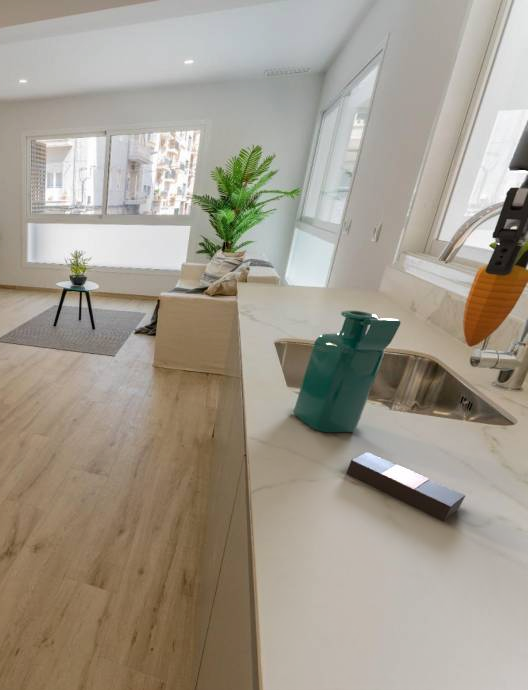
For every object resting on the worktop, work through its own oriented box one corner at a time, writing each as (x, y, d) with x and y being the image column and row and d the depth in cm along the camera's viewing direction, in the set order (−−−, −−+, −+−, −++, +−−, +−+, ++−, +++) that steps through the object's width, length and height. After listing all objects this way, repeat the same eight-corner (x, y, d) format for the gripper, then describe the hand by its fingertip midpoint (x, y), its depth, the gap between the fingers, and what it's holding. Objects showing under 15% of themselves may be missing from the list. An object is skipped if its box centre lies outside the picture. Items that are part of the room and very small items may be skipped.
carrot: (461, 350, 58) (511, 237, 53) (438, 339, 63) (482, 233, 57) (505, 353, 57) (561, 238, 52) (478, 342, 62) (527, 235, 56)
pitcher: (288, 411, 86) (320, 305, 77) (327, 411, 86) (363, 306, 78) (322, 437, 77) (363, 320, 68) (366, 437, 77) (412, 320, 69)
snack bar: (362, 464, 69) (367, 451, 68) (458, 509, 60) (466, 494, 59) (345, 473, 67) (351, 459, 66) (443, 521, 57) (451, 506, 56)
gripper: (607, 115, 43) (527, 282, 50) (636, 129, 50) (562, 274, 56) (504, 124, 49) (445, 271, 56) (542, 135, 56) (485, 266, 62)
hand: (504, 272), depth 56 cm, fingers closed on carrot, 5 cm apart
